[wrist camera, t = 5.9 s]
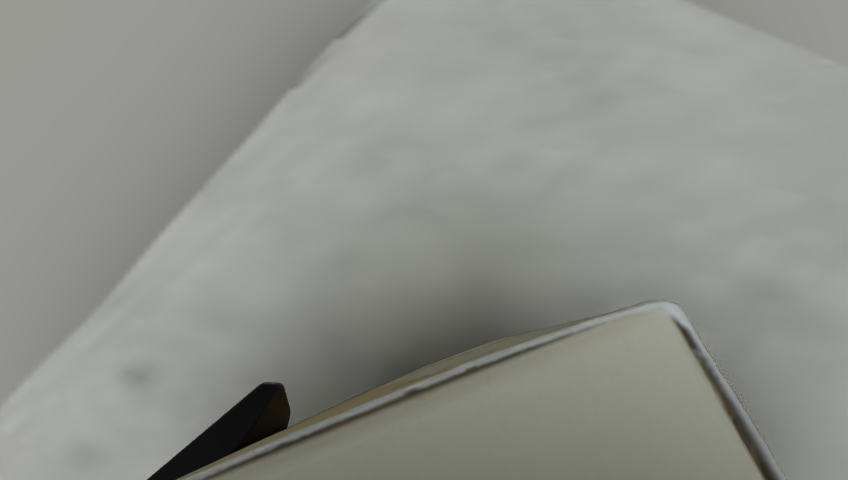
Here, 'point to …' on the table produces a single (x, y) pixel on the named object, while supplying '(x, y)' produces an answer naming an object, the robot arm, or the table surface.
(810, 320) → the table surface
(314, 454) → the skincare box
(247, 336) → the table surface
